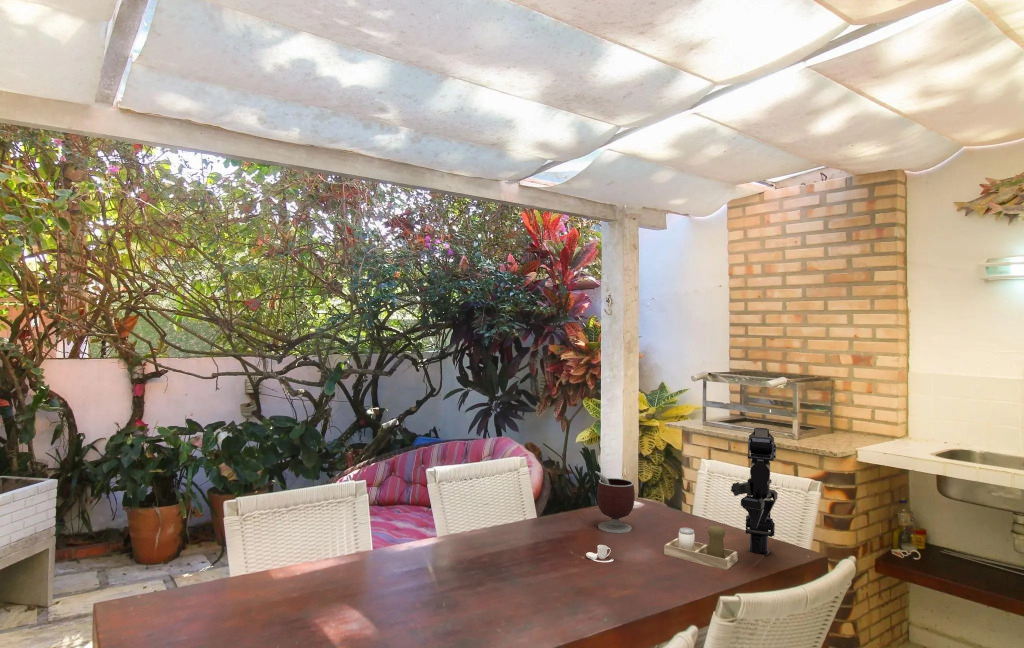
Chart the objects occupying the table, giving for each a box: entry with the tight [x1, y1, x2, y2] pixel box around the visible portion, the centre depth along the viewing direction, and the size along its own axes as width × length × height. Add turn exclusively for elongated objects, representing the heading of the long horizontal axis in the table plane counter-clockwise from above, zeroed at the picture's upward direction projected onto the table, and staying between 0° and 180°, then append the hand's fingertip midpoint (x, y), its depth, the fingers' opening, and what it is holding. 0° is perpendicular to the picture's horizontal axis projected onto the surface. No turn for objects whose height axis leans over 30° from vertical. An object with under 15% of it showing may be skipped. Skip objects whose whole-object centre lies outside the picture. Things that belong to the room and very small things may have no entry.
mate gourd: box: [594, 471, 636, 534], centre depth 239 cm, size 16×14×20 cm
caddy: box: [663, 537, 739, 571], centre depth 207 cm, size 11×20×4 cm, turn 52°
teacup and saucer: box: [585, 544, 615, 563], centre depth 206 cm, size 9×8×4 cm
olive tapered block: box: [707, 525, 726, 559], centre depth 204 cm, size 6×6×11 cm
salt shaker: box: [678, 527, 696, 551], centre depth 210 cm, size 5×5×8 cm
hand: (758, 525), depth 203 cm, fingers open, 9 cm apart
